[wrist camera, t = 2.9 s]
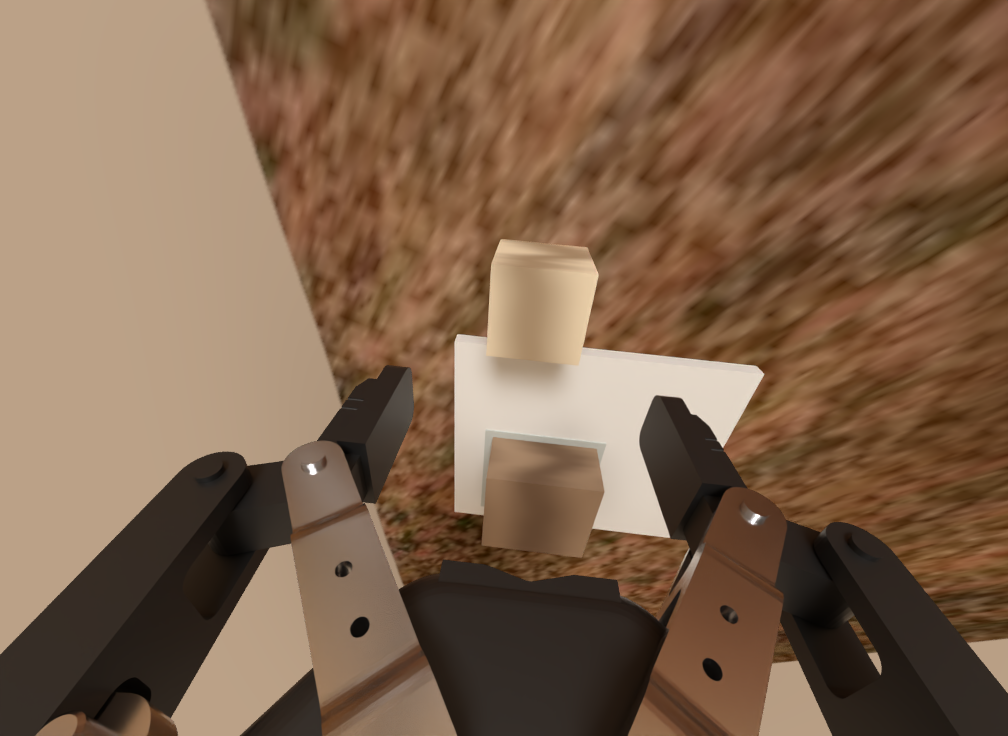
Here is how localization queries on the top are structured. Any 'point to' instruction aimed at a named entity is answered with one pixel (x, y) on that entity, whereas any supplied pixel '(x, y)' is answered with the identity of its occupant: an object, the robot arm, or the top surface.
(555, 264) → the maple cube
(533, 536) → the walnut base
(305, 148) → the top surface
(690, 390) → the plate
